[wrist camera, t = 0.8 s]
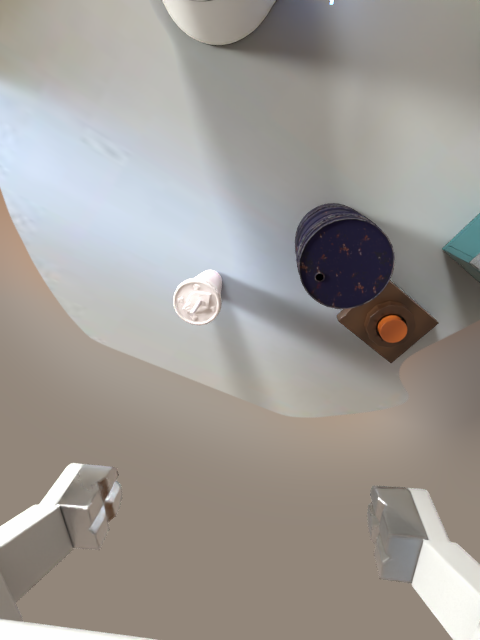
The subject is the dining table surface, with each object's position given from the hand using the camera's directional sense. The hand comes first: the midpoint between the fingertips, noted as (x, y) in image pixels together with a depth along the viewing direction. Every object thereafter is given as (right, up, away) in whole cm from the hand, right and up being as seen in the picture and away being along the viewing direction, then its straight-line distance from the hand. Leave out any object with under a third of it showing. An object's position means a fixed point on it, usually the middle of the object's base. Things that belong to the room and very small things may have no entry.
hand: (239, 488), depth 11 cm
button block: (+22, +6, +43) cm, 48 cm away
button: (+22, +5, +39) cm, 45 cm away
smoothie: (-5, +11, +44) cm, 45 cm away
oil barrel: (+13, +17, +39) cm, 44 cm away
